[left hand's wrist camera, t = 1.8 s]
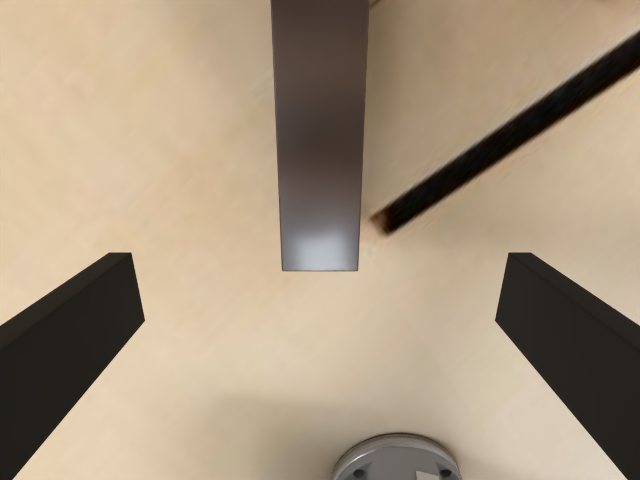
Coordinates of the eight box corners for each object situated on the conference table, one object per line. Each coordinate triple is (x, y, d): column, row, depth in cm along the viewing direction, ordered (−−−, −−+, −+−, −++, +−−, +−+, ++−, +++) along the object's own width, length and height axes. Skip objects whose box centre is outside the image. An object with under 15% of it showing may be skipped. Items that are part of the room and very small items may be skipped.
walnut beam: (347, 228, 31) (358, 271, 23) (292, 228, 31) (281, 271, 23) (360, -202, 22) (386, -400, 13) (279, -202, 22) (253, -400, 13)
